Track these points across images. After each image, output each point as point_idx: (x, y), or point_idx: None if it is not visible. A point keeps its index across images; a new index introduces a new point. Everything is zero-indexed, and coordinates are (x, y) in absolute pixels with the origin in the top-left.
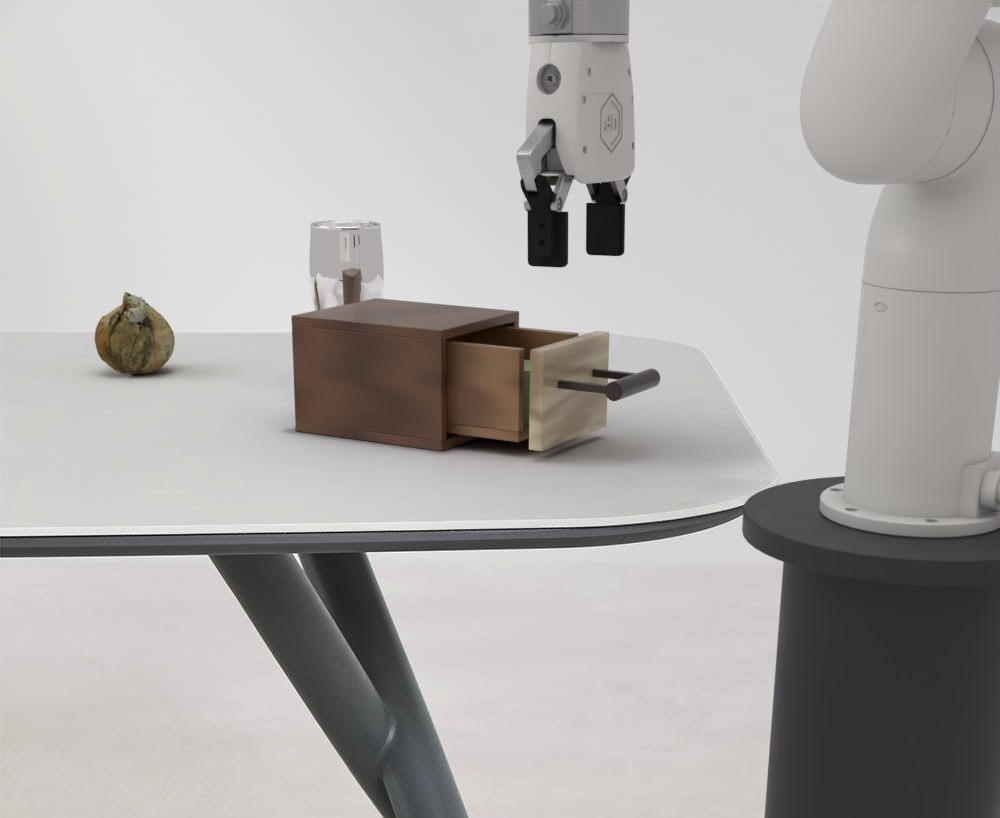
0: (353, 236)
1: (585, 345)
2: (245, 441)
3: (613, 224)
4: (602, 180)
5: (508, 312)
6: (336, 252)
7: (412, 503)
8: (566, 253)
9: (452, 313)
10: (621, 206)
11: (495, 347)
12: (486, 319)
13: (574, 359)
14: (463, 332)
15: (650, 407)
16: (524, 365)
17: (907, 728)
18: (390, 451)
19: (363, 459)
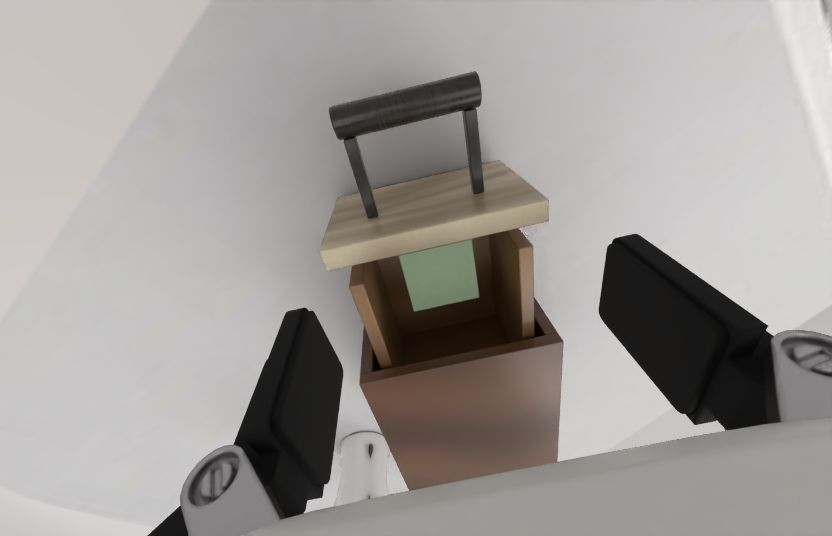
0: None
1: (404, 227)
2: (565, 369)
3: (301, 382)
4: (614, 458)
5: (380, 384)
6: None
7: (718, 129)
8: (647, 248)
9: (438, 409)
10: (266, 423)
11: (533, 279)
12: (447, 366)
13: (438, 212)
14: (503, 346)
15: (177, 262)
16: (445, 276)
17: None
18: (535, 287)
19: (574, 281)
